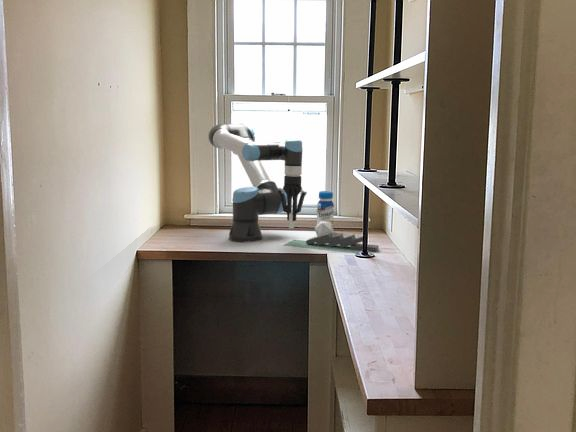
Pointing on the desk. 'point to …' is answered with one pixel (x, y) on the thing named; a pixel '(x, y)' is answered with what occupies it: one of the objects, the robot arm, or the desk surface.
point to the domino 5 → (360, 246)
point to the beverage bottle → (325, 207)
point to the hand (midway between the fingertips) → (291, 227)
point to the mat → (320, 246)
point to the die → (324, 228)
